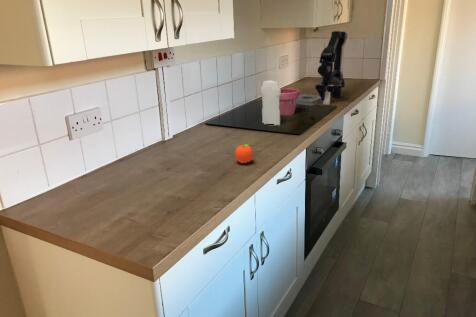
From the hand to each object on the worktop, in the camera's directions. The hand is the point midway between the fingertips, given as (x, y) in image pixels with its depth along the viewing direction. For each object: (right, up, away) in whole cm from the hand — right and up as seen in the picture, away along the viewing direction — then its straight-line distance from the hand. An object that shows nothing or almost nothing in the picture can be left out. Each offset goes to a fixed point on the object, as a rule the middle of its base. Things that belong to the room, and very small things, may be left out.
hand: (326, 99), depth 237 cm
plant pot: (-26, -10, -16) cm, 32 cm away
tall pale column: (-36, -18, -35) cm, 53 cm away
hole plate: (-10, 0, +9) cm, 13 cm away
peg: (0, -3, +1) cm, 3 cm away
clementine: (-50, -37, -83) cm, 103 cm away
